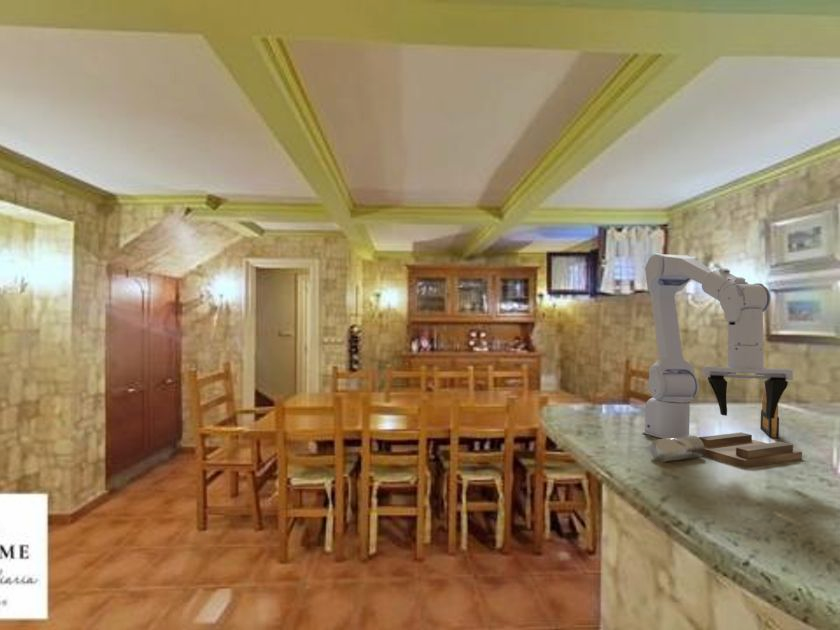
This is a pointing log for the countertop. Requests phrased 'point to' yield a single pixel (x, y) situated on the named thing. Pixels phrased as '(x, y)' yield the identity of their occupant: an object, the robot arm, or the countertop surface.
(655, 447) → the steel axle
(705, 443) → the cradle block
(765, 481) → the countertop surface
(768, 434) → the ammunition clip
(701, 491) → the countertop surface
